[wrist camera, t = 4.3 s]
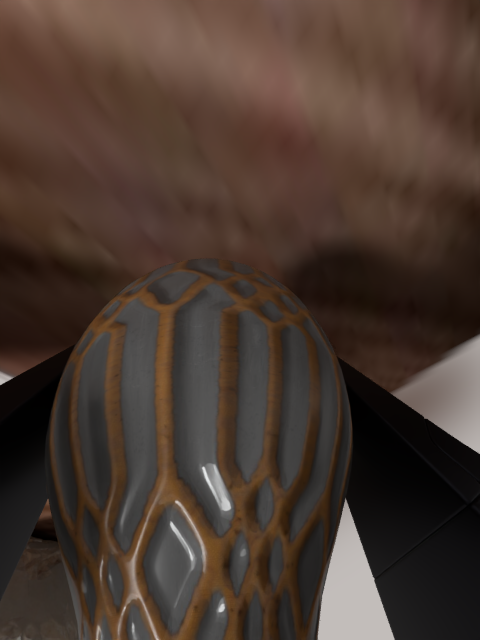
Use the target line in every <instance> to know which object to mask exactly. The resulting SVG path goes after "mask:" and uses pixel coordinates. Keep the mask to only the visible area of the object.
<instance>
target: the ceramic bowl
mask: <svg viewBox="0 0 480 640" xmlns="http://www.w3.org/2000/svg"><path fill="white" fill-rule="evenodd" d="M0 640H79V634H78V623H77V618H76V614H75V609H74V605H73V600H72V596H71V592H70V588H69V584H68V580H67V576H66V573H65V569H64V565H63V561H62V557H61V553H60V548H59V544H58V542H56V541H52V540H43V539H41V538H35V537H31V536H30V539H29V541H28V543H27V545H26V547H25V549H24V552H23V554H22V556H21V558H20V560H19V562H18V565H17V567H16V569H15V571H14V573H13V575H12V578H11V580H10V582H9V584H8V586H7V588H6V591H5V593H4V595H3V597H2V599H1V602H0Z"/></svg>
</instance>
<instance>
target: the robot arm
mask: <svg viewBox="0 0 480 640" xmlns="http://www.w3.org/2000/svg"><path fill="white" fill-rule="evenodd" d="M76 344H77V343H76ZM76 344H75V345H76ZM75 345H73V346H71V347H69V348H67V349H66V350H64V351H62V352H60V353H58V354H56V355H55V356H53V357H51V358H49V359H47V360H45V361H44V362H42V363H40V364H38V365H36V366H35V367H33V368H31V369H29V370H27V371H25V372H24V373H22V374H20V375H18V376H16V377H14V378H13V379H11V380H9V381H7V382H5V383H3V384H2V385H0V602H1V599H2V597H3V595H4V593H5V591H6V588H7V586H8V584H9V582H10V580H11V578H12V575H13V573H14V571H15V569H16V567H17V565H18V562H19V560H20V558H21V556H22V554H23V552H24V549H25V547H26V545H27V543H28V541H29V539H30V536H31V534H32V532H33V530H34V528H35V525H36V523H37V521H38V519H39V517H40V515H41V512H42V510H43V508H44V506H45V504H46V502H47V499H48V494H47V488H46V477H45V447H46V435H47V429H48V424H49V418H50V413H51V409H52V405H53V401H54V397H55V393H56V390H57V387H58V384H59V382H60V379H61V376H62V373H63V370H64V368H65V366H66V363H67V361H68V359H69V357H70V355H71V353H72V351H73V349H74V347H75ZM336 357H337V356H336ZM337 359H338V362H339V365H340V367H341V370H342V374H343V377H344V381H345V385H346V389H347V394H348V399H349V404H350V411H351V420H352V428H353V456H352V466H351V473H350V478H349V483H348V488H347V493H346V500H347V503H348V506H349V508H350V512H351V514H352V517H353V520H354V523H355V526H356V529H357V532H358V534H359V537H360V540H361V543H362V546H363V549H364V552H365V555H366V557H367V560H368V563H369V566H370V569H371V572H372V575H373V577H374V578H375V580H374V581H375V584H376V587H377V590H378V593H379V595H380V598H381V601H382V604H383V607H384V610H385V613H386V616H387V618H388V621H389V624H390V627H391V630H392V633H393V636H394V638H395V640H480V454H479V453H477V452H476V451H474V450H473V449H471V448H469V447H468V446H466V445H465V444H463V443H461V442H460V441H459V440H457V439H456V438H454V437H453V436H451V435H450V434H448V433H447V432H445V431H444V430H442V429H441V428H439V427H438V426H437V425H435V424H434V423H432V422H431V421H429V420H428V419H424V417H423V416H422V415H420V414H419V413H418V412H416V411H415V410H413V409H412V408H411V407H409V406H408V405H406V404H405V403H403V402H402V401H400V400H399V399H397V398H396V397H395V396H393V395H392V394H390V393H389V392H387V391H386V390H385V389H383V388H382V387H380V386H379V385H377V384H376V383H375V382H373V381H372V380H370V379H369V378H367V377H366V376H364V375H363V374H362V373H360V372H359V371H357V370H356V369H354V368H353V367H351V366H350V365H349V364H347V363H346V362H344V361H343V360H341V359H340V358H339V357H337Z"/></svg>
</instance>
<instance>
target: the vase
mask: <svg viewBox="0 0 480 640" xmlns="http://www.w3.org/2000/svg"><path fill="white" fill-rule="evenodd" d="M352 456H353V428H352V420H351V411H350V404H349V399H348V394H347V389H346V385H345V381H344V377H343V374H342V370H341V367H340V365H339V362H338V359H337V357H336V354H335V352H334V349H333V347H332V345H331V343H330V341H329V340H328V338H327V336H326V334H325V333H324V331H323V329H322V328H321V326H320V325H319V323H318V322H317V320H316V319H315V318H314V316H313V315H312V313H311V312H310V311H309V310H308V308H307V307H306V306H305V305H304V304H303V303H302V302H301V300H300V299H299V298H298V297H297V296H296V295H295V294H294V293H293V292H292V291H291V290H289V289H288V288H287V287H286V286H284V285H283V284H281V283H280V282H279V281H277V280H276V279H274V278H273V277H271V276H269V275H268V274H266V273H264V272H262V271H260V270H258V269H255V268H253V267H250V266H248V265H244V264H241V263H237V262H233V261H228V260H222V259H193V260H187V261H181V262H177V263H173V264H169V265H167V266H164V267H161V268H158V269H156V270H154V271H152V272H150V273H148V274H146V275H144V276H143V277H141V278H139V279H137V280H135V281H134V282H132V283H131V284H129V285H128V286H127V287H125V288H124V289H123V290H122V291H120V292H119V293H118V294H117V295H116V296H115V297H114V298H113V299H112V300H111V301H110V302H109V303H108V304H107V305H106V306H105V307H104V308H103V309H102V310H101V311H100V313H99V314H98V315H97V316H96V317H95V319H94V320H93V321H92V322H91V323H90V325H89V326H88V327H87V329H86V330H85V332H84V333H83V335H82V336H81V338H80V339H79V341H78V342H77V344H76V345H75V347H74V349H73V351H72V353H71V355H70V357H69V359H68V361H67V363H66V366H65V368H64V370H63V373H62V376H61V379H60V382H59V384H58V387H57V390H56V393H55V397H54V401H53V405H52V409H51V413H50V418H49V424H48V429H47V435H46V447H45V477H46V488H47V494H48V499H49V504H50V510H51V514H52V518H53V523H54V527H55V532H56V536H57V540H58V544H59V548H60V553H61V557H62V561H63V565H64V569H65V573H66V576H67V580H68V584H69V588H70V592H71V596H72V600H73V605H74V609H75V614H76V618H77V623H78V634H79V640H318V628H319V619H320V611H321V601H322V594H323V590H324V585H325V581H326V576H327V572H328V568H329V564H330V560H331V556H332V552H333V548H334V544H335V540H336V536H337V531H338V528H339V524H340V519H341V515H342V511H343V506H344V502H345V498H346V493H347V488H348V483H349V478H350V473H351V466H352Z"/></svg>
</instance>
